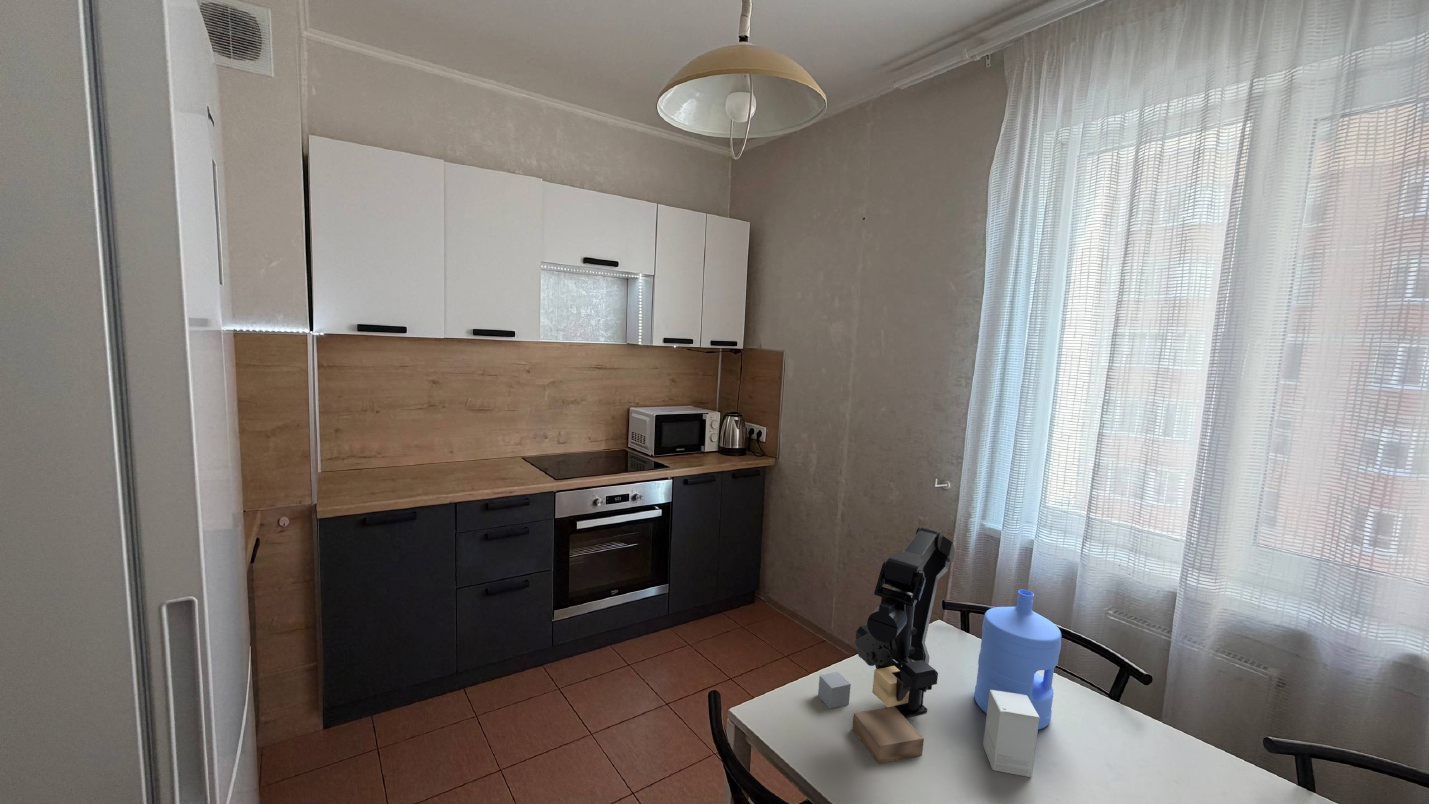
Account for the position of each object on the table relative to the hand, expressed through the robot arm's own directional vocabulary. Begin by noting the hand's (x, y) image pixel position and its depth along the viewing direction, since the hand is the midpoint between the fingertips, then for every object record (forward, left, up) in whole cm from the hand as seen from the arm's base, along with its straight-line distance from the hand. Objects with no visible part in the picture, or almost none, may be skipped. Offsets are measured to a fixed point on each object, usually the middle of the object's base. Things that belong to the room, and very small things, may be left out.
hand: (890, 692), depth 117 cm
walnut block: (0, 0, -11) cm, 11 cm away
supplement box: (-20, +12, -11) cm, 26 cm away
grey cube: (+3, -15, -11) cm, 19 cm away
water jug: (-35, 0, -11) cm, 37 cm away
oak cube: (0, 0, -1) cm, 1 cm away
